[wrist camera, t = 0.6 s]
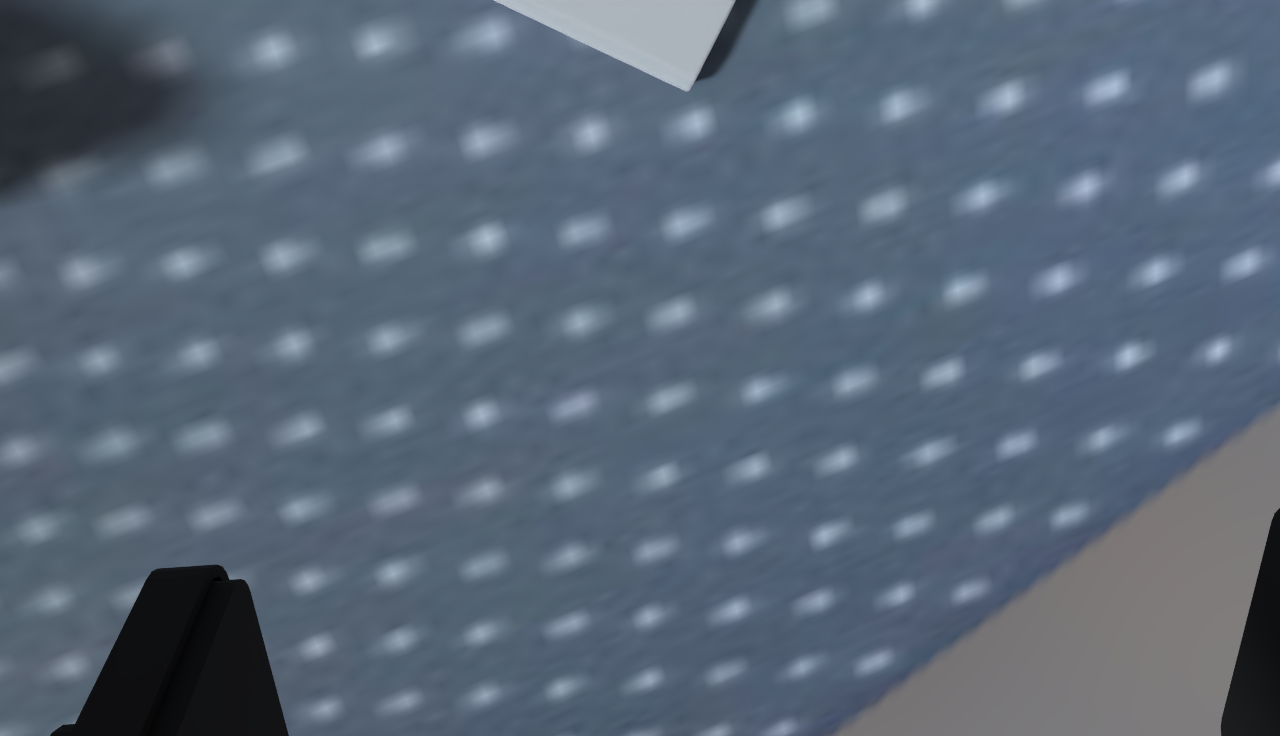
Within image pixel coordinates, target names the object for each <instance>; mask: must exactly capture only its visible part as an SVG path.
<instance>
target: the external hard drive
mask: <svg viewBox="0 0 1280 736" xmlns="http://www.w3.org/2000/svg"><path fill="white" fill-rule="evenodd" d="M494 1H496V2H498V3H501V4H503V5H505V6H507V7H509V8H510V9H513V10H515V11H517V12H519V13H521V14H523V15H526V16H528V17H530V18H532V19H534V20H536V21H538V22H540V23H542V24H544V25H547V26H549V27H551V28H553V29H555V30H557V31H559V32H561V33H563V34H565V35H567V36H569V37H572V38H574V39H576V40H578V41H580V42H582V43H584V44H586V45H588V46H591V47H593V48H595V49H597V50H599V51H601V52H603V53H605V54H607V55H610V56H612V57H614V58H616V59H618V60H620V61H623V62H625V63H627V64H629V65H631V66H633V67H635V68H638V69H640V70H642V71H644V72H646V73H648V74H650V75H652V76H654V77H656V78H658V79H660V80H662V81H665V82H667V83H669V84H671V85H674V86H676V87H678V88H680V89H682V90H684V91H689V90H690V89H691V87H692V86H693V84H694V82H695V80H696V78H697V76H698V75H699V73H700V71H701V69H702V67H703V65H704V63H705V61H706V59H707V57H708V55H709V53H710V51H711V49H712V47H713V45H714V43H715V41H716V39H717V37H718V35H719V33H720V31H721V29H722V27H723V25H724V23H725V21H726V19H727V17H728V15H729V13H730V11H731V9H732V7H733V5H734V3H735V1H736V0H494Z"/></svg>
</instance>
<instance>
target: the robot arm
mask: <svg viewBox="0 0 1280 736" xmlns="http://www.w3.org/2000/svg"><path fill="white" fill-rule="evenodd" d="M50 736H289V735H288V731H287V728H286V724H285V720H284V716H283V712H282V709H281V705H280V701H279V697H278V694H277V690H276V686H275V682H274V679H273V675H272V671H271V667H270V664H269V660H268V656H267V652H266V649H265V645H264V641H263V637H262V633H261V630H260V626H259V622H258V618H257V615H256V611H255V607H254V603H253V600H252V596H251V592H250V589H249V587H248V584H247V583H246V582H245V580H242V579H236V580H229V578H228V575H227V572H226V571H225V570H224V568H223V567H222V566H220V565H204V566H190V567H176V568H161V569H156V570H154V571H152V572H151V574H150V575H149V576H148V578H147V579H146V581H145V583H144V585H143V587H142V590H141V592H140V594H139V596H138V598H137V600H136V602H135V604H134V606H133V608H132V610H131V612H130V614H129V616H128V618H127V620H126V622H125V624H124V626H123V628H122V630H121V632H120V634H119V636H118V638H117V640H116V642H115V644H114V646H113V648H112V650H111V652H110V654H109V656H108V658H107V660H106V662H105V664H104V667H103V669H102V671H101V673H100V675H99V677H98V679H97V681H96V683H95V685H94V687H93V689H92V691H91V693H90V695H89V697H88V699H87V701H86V703H85V705H84V707H83V709H82V711H81V713H80V715H79V717H78V719H77V721H76V723H75V724H69V725H62V726H61V727H59V728H58V729H57V730H55V731H54V732H52V734H51V735H50ZM1221 736H1280V508H1279V509H1278V510H1277V512H1276V513H1275V514H1274V517H1273V519H1272V522H1271V526H1270V530H1269V534H1268V538H1267V542H1266V546H1265V550H1264V554H1263V558H1262V562H1261V566H1260V570H1259V574H1258V578H1257V582H1256V586H1255V589H1254V594H1253V598H1252V601H1251V605H1250V609H1249V613H1248V617H1247V621H1246V625H1245V629H1244V633H1243V637H1242V641H1241V645H1240V649H1239V653H1238V657H1237V661H1236V665H1235V669H1234V672H1233V676H1232V681H1231V684H1230V689H1229V692H1228V696H1227V700H1226V704H1225V708H1224V712H1223V716H1222V722H1221Z"/></svg>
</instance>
